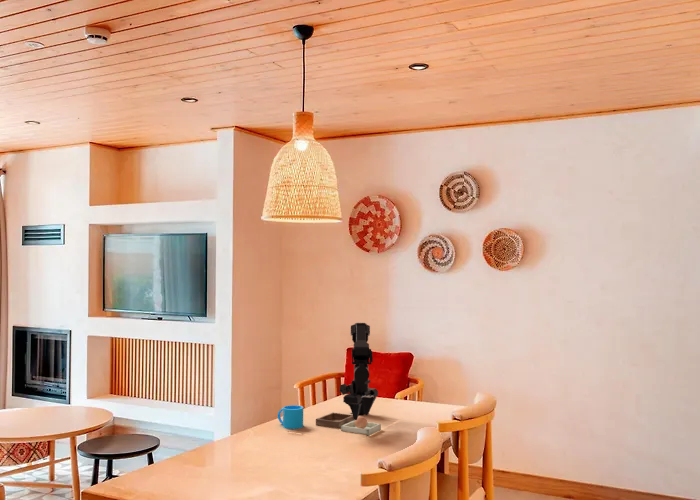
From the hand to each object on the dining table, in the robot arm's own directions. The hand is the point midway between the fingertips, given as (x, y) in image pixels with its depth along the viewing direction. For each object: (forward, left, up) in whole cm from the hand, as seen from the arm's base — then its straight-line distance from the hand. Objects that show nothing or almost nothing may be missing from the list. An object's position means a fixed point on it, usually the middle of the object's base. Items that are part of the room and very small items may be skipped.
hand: (361, 417), depth 243 cm
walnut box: (-4, -14, -5) cm, 16 cm away
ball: (0, 0, -5) cm, 5 cm away
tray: (0, 0, -5) cm, 5 cm away
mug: (+9, -28, -6) cm, 30 cm away
